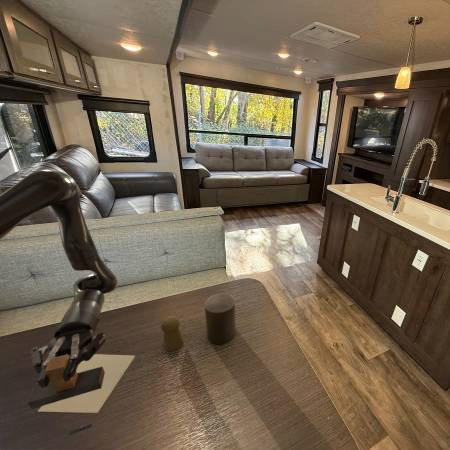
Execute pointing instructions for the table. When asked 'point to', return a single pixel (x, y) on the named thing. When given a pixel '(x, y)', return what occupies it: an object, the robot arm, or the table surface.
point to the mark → (80, 428)
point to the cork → (171, 334)
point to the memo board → (94, 399)
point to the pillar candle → (220, 318)
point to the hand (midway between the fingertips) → (54, 381)
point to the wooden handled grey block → (64, 383)
